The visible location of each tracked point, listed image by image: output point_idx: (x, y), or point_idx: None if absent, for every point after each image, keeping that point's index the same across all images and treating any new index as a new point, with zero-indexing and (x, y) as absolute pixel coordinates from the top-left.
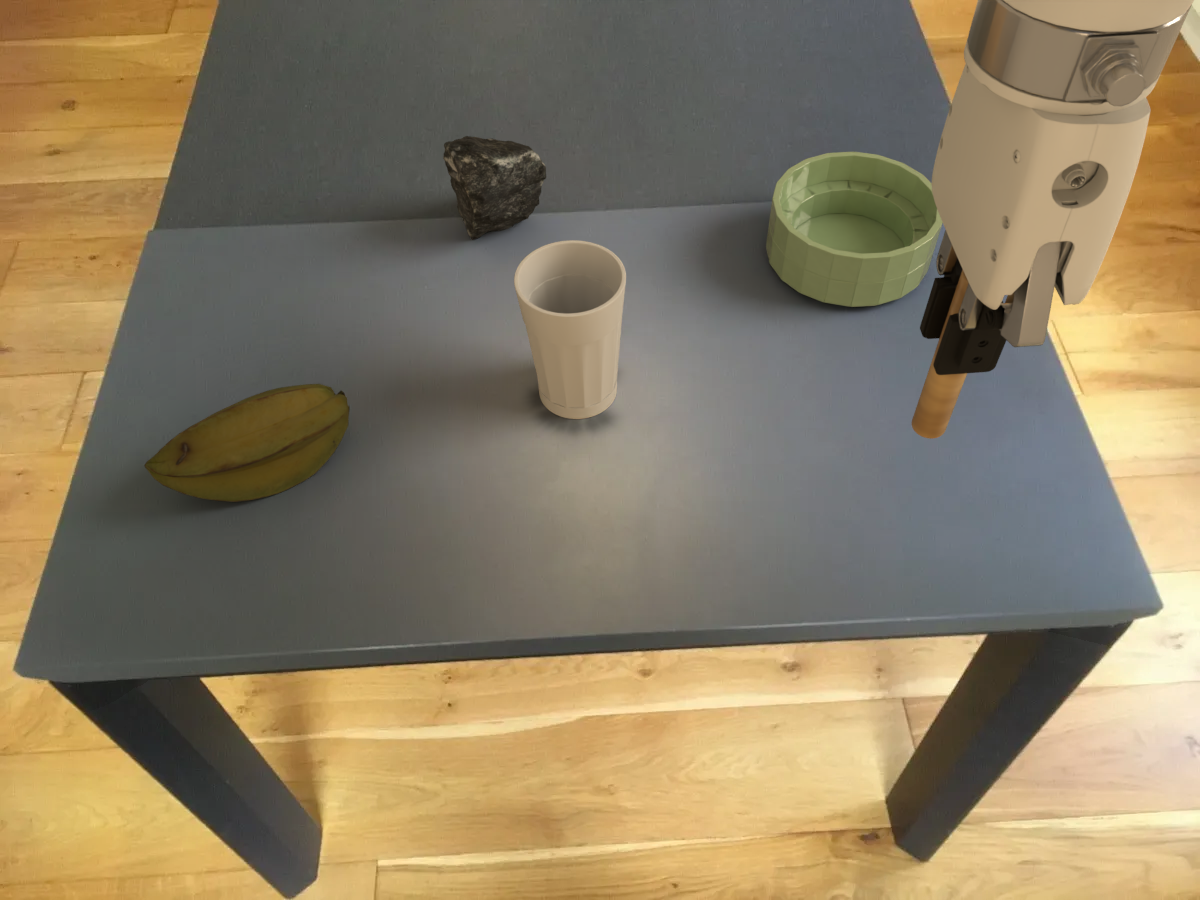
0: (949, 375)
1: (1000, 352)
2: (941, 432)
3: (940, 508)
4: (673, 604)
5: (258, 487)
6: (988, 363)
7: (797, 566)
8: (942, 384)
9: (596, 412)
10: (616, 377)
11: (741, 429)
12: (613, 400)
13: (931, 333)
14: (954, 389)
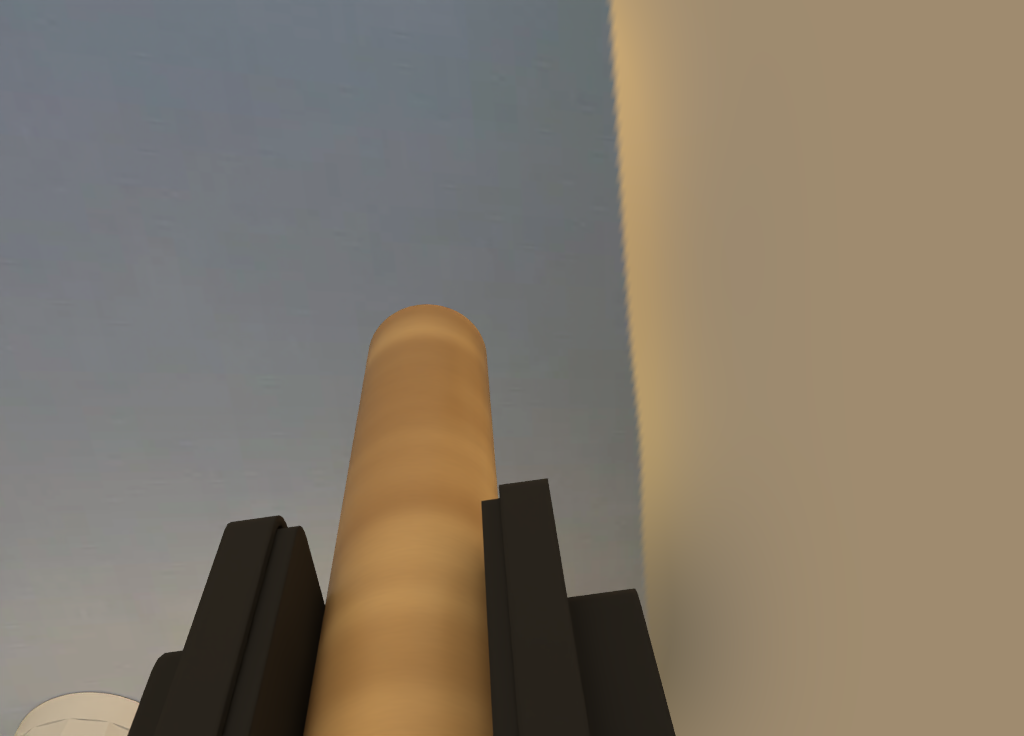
0: None
1: (557, 552)
2: (475, 336)
3: (305, 3)
4: (601, 563)
5: None
6: (637, 610)
7: (505, 351)
8: None
9: None
10: (70, 724)
11: (139, 460)
12: (116, 696)
13: None
14: (495, 480)
